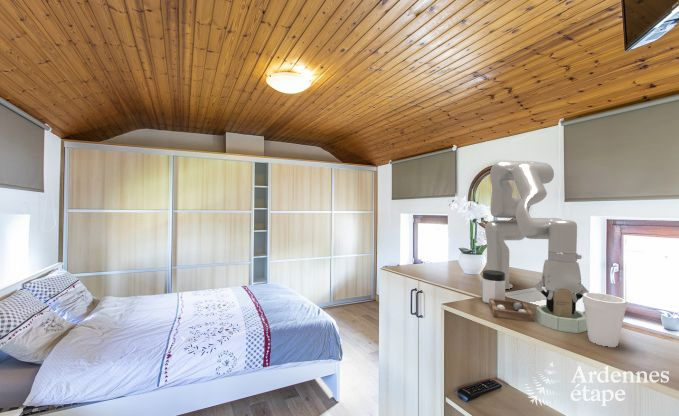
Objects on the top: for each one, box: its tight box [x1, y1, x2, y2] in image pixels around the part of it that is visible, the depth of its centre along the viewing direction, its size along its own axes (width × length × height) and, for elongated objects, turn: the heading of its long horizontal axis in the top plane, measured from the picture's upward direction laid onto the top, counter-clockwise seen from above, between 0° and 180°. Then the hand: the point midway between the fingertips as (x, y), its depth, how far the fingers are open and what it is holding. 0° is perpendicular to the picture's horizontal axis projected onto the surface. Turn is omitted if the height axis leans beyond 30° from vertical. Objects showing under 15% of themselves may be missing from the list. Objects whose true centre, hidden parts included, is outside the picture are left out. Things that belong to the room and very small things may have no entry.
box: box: [550, 288, 572, 318], centre depth 100 cm, size 5×4×11 cm
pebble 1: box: [497, 305, 506, 310], centre depth 110 cm, size 3×3×3 cm
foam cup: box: [582, 292, 627, 348], centre depth 87 cm, size 10×9×13 cm
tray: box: [488, 299, 535, 322], centre depth 110 cm, size 13×12×2 cm
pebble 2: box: [513, 301, 523, 311], centre depth 112 cm, size 3×3×3 cm
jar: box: [481, 269, 506, 304], centre depth 122 cm, size 9×8×12 cm
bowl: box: [535, 304, 588, 334], centre depth 100 cm, size 13×13×4 cm
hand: (560, 311), depth 100 cm, fingers closed on box, 5 cm apart
